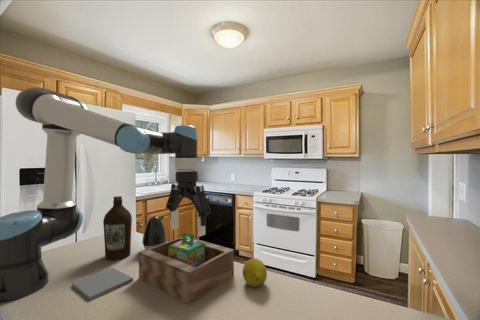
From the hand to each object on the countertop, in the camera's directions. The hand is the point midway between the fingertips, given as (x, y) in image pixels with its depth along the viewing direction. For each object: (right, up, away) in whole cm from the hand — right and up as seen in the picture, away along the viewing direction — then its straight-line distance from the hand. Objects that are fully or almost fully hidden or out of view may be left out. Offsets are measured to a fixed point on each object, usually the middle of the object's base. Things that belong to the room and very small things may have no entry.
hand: (187, 232), depth 81 cm
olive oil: (-33, -16, +17) cm, 41 cm away
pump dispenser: (-20, -16, +24) cm, 35 cm away
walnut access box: (0, -16, 0) cm, 16 cm away
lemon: (+23, -16, -5) cm, 28 cm away
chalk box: (0, -16, 0) cm, 16 cm away
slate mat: (-27, -16, -4) cm, 31 cm away
